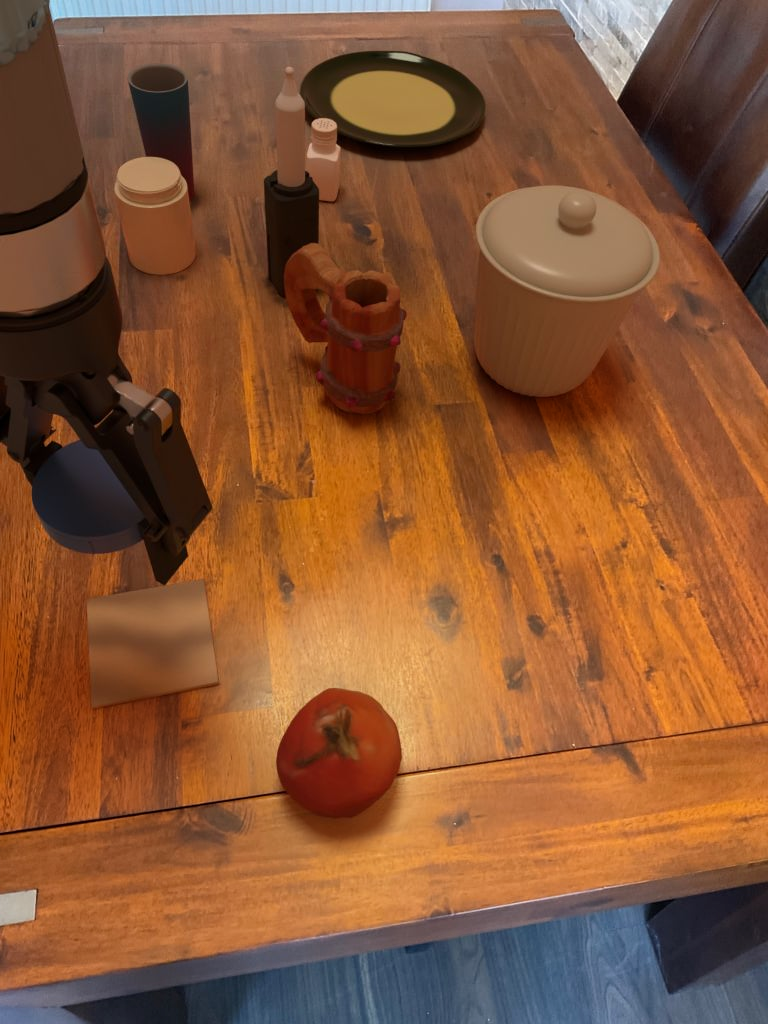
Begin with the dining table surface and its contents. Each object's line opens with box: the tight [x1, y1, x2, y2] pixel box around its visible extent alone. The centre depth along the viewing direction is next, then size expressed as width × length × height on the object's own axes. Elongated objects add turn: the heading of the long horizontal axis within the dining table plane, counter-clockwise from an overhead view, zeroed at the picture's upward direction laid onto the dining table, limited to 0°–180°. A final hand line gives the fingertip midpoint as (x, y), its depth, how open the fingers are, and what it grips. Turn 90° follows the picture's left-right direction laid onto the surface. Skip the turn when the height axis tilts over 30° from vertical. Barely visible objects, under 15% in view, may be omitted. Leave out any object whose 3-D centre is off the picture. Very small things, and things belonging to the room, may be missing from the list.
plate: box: [299, 50, 487, 148], centre depth 121 cm, size 28×28×2 cm
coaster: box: [85, 578, 220, 710], centre depth 67 cm, size 10×10×1 cm
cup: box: [127, 62, 195, 202], centre depth 99 cm, size 7×7×15 cm
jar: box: [113, 156, 197, 276], centre depth 93 cm, size 8×8×11 cm
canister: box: [473, 184, 661, 398], centre depth 83 cm, size 18×18×21 cm
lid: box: [31, 439, 145, 555], centre depth 51 cm, size 8×8×2 cm
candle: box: [263, 66, 320, 298], centre depth 86 cm, size 5×5×25 cm
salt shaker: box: [306, 118, 342, 202], centre depth 104 cm, size 4×4×10 cm
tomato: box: [275, 687, 403, 820], centre depth 59 cm, size 9×9×8 cm
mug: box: [284, 243, 408, 414], centre depth 81 cm, size 15×8×15 cm, turn 48°
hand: (118, 541), depth 55 cm, fingers closed on lid, 8 cm apart
